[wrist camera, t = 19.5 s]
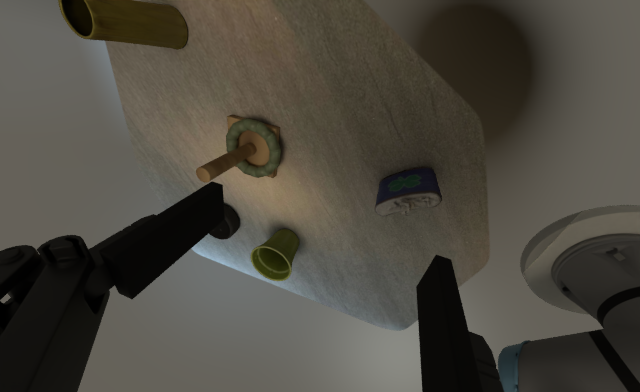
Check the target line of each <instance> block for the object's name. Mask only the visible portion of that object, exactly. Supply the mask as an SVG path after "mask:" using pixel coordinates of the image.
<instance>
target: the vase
mask: <svg viewBox="0 0 640 392" xmlns="http://www.w3.org/2000/svg"><path fill="white" fill-rule="evenodd" d="M58 2H59V7H60V10H61V13H62V15H63V17H64V19H65V21H66V22H67V24H68V25H69V27H70V28H71V29H72V30H73V31H74V32H75V33H76V34H77V35H78V36H80V37H81V38H84V39H92V40H105V41H116V42H125V43H133V44H142V45H150V46H158V47H167V48H173V49H181V48H182V47H184V46H185V44H186V41H187V37H188V33H187V26H186V23H185V21H184V19H183V17H182V15H181V14H180V13H179V12H178V10H176V9H175V8H174V7H172V6H169V5H162V4H155V3H148V2H141V1H134V0H58Z"/></svg>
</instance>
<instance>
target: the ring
mask: <svg viewBox="0 0 640 392" xmlns="http://www.w3.org/2000/svg"><path fill="white" fill-rule="evenodd" d="M247 130H249V131H253V132H256V133H258V134H259V135H260V136H261V137H262V138H263V139H264V140H265V141H266V144H267V146H268V148H269V160H268V162H267V163H266V164H265V165H264V166H261V167H256V166H253V165H250V164H249V163H247V162H246V161H245V160H244V161H242V162H240V163H239V164H237V165H236V166H237V167H238V168H239V169H240V170H241V171H242V172H243V173H245V174H248V175H251V176H254V177H257V178H259V177H263V176H268V175H271V174H272V173H273V172H274V170H275V169H276V168H277V167H278V165H279V164H280V154H281V148H280V146H279V143H278V141H277V138H276V136H275V134H274V133H273V132H272V131H271V130H270V129H269V128H268V127H267V126H266V125H265V124H264V123H262V122H260V121H256V120H252V119H249V118H245V119H242V120H240V121H237V122H235V123H233V124H232V126H231V127H230V129H229V131H228V133H227V135H226V146H227V152H230V151H232V150H234V149H236V148H238V140H237V139H238V137H239V136H240V134H241V133H242V132H244V131H247Z"/></svg>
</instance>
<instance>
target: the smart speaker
mask: <svg viewBox="0 0 640 392" xmlns="http://www.w3.org/2000/svg"><path fill="white" fill-rule="evenodd" d="M224 214H225V219H224V220H223V221H222V222H221V223H220V224H219V225H217V226H216V227H215V228H214V229H213V230H212V231H210V232H209V234H210V235H212V236H213V237H215V238H218V239H228V238H230V237H231V236H232V235H233V234H234V233H235V232H236V231H237V230H238V228H239V220H238V217H237V215H236V214H235V212H234V211H233V210H232V209H231V208H229V207H228V206H226V205H224Z"/></svg>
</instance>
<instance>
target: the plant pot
mask: <svg viewBox="0 0 640 392" xmlns="http://www.w3.org/2000/svg"><path fill="white" fill-rule="evenodd" d="M298 246H299V239H298V238H297V237H296V235H295V233H293V232H292V231H290V230H287V229H282V230H279V231H277V232H276V233H275V234H274V235H273V236H272V237H271V238H270V239H269V240H267V241H266V242H265V243H264V244H262V245H261V246H258V247H256V248H254V249H253V251H252V252H251V262H252V264H253V266H254V267H255V269H256V270H257V271H258V272H259V273H260V274H261V275H263V276H264V277H266V278H268V279H270V280H274V281H283V280H286V279H288V278H289V276H290V274H291V270H292V269H291V267H292V262H293V259H294V256H295V254H296V251H297V248H298Z"/></svg>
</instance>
